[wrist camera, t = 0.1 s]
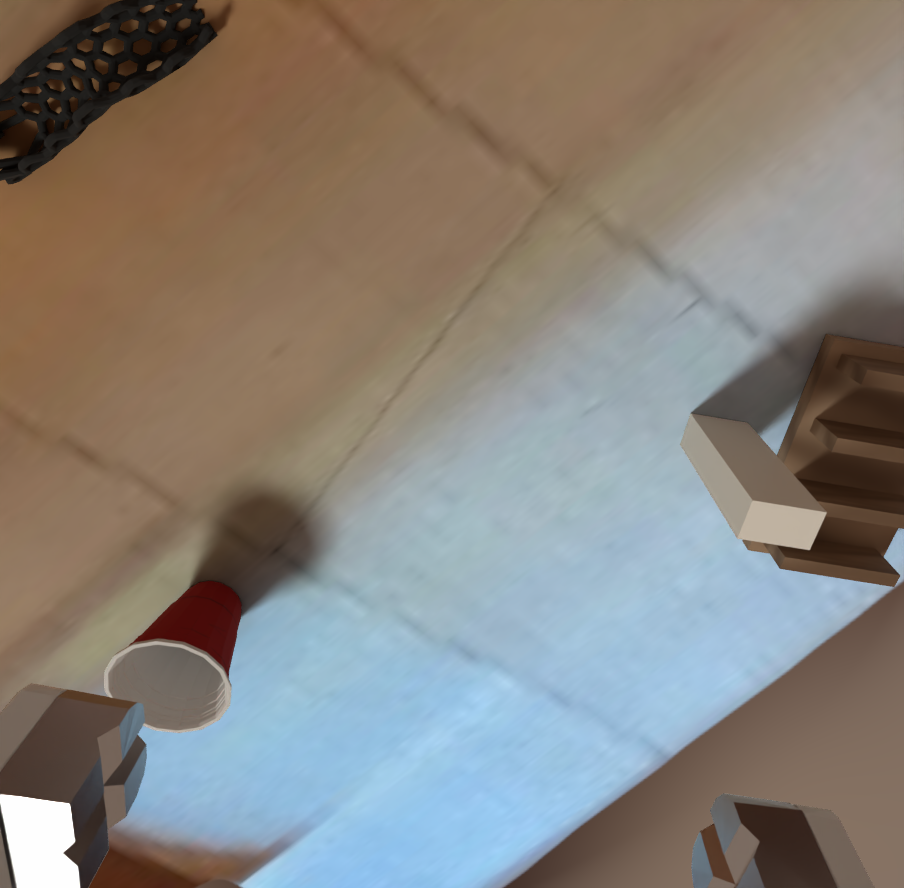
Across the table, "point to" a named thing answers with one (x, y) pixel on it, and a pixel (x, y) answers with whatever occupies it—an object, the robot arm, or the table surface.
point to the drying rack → (849, 460)
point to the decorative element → (94, 74)
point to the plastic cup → (181, 661)
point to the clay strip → (751, 483)
